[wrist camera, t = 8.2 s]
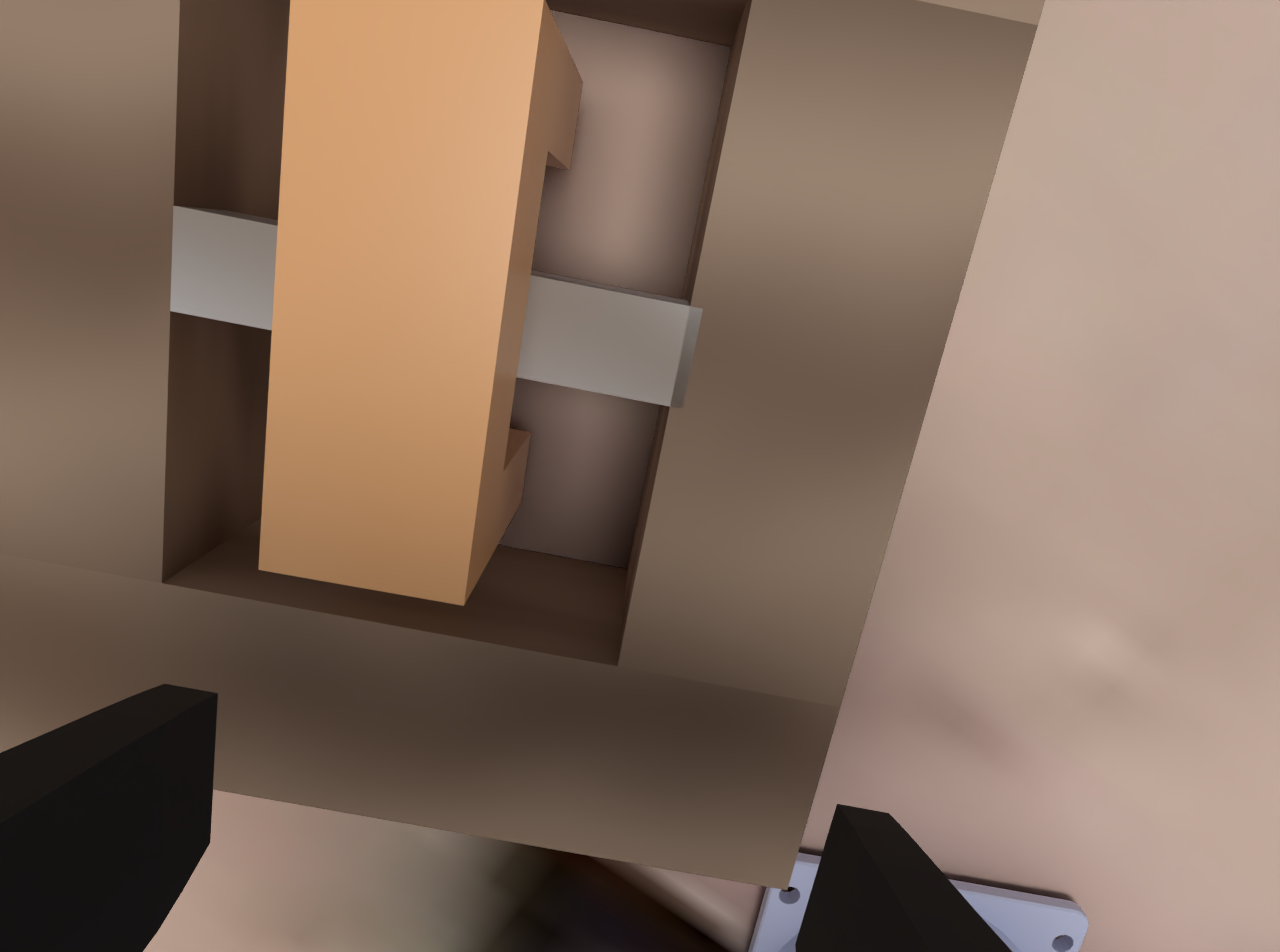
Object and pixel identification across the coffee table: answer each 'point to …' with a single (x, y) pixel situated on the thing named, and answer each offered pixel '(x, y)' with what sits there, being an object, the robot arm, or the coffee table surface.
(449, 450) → the tan rectangular block
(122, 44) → the brown piece
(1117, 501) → the coffee table surface
